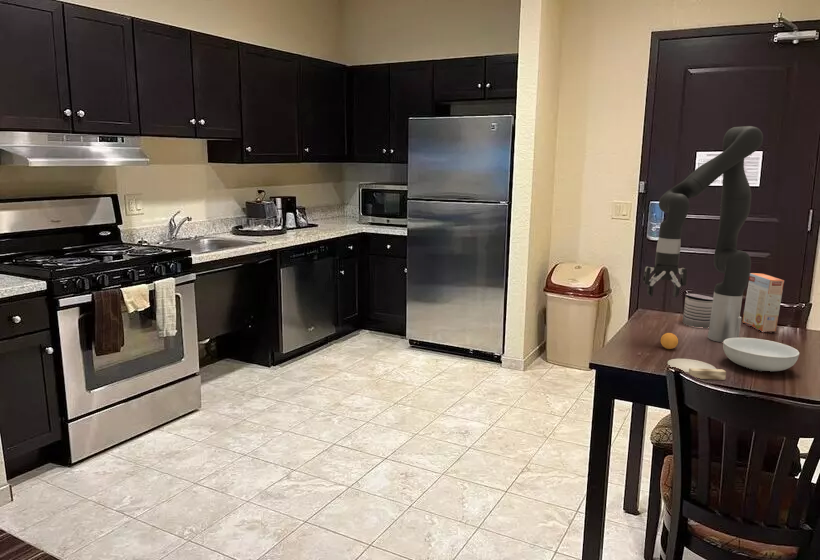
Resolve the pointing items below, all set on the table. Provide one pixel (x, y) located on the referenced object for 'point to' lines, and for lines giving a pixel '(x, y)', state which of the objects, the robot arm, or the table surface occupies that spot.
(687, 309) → the can
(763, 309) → the cracker box
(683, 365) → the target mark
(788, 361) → the serving bowl
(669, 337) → the ball
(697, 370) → the stopper strip
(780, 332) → the table surface
